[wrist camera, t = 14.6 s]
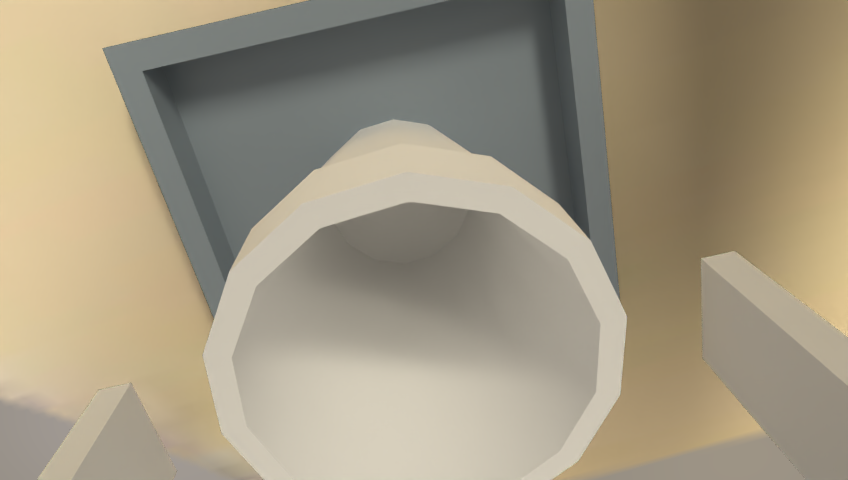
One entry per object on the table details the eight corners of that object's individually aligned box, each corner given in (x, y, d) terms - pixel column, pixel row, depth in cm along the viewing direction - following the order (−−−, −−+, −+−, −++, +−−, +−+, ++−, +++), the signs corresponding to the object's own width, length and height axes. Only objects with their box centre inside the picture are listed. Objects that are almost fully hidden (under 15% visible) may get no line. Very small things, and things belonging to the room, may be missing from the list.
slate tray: (133, 42, 23) (102, 48, 20) (563, -58, 23) (587, -65, 20) (269, 390, 30) (259, 429, 27) (602, 316, 29) (623, 347, 27)
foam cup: (330, 314, 27) (295, 568, 15) (251, 122, 24) (123, 257, 12) (529, 255, 27) (653, 468, 15) (480, 51, 23) (592, 115, 11)
